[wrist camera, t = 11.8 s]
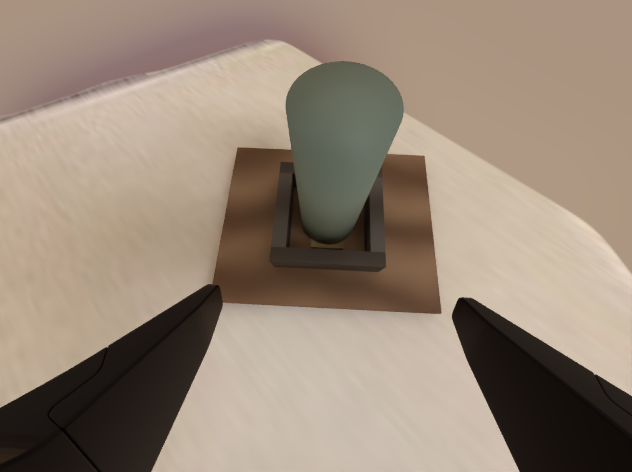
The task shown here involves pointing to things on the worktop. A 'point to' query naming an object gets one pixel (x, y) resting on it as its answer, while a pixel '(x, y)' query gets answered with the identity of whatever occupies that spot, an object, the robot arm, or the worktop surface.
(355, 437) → the worktop surface
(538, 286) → the worktop surface
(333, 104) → the grey-green canister
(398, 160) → the walnut seat board
